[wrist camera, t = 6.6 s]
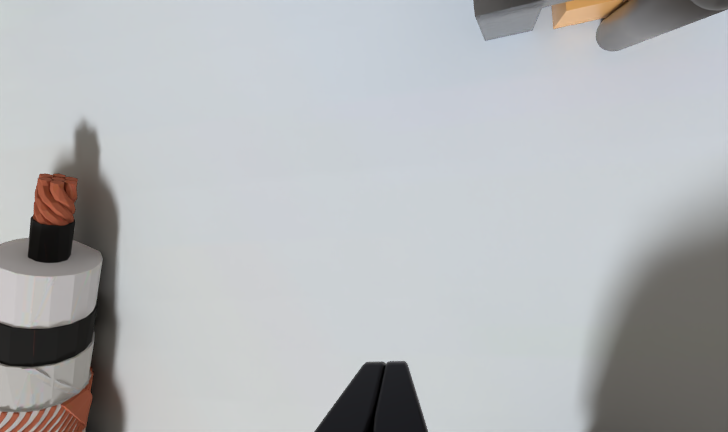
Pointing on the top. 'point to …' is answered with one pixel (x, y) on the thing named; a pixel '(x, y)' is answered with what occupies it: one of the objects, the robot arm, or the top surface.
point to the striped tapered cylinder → (48, 317)
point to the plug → (633, 17)
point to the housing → (508, 16)
